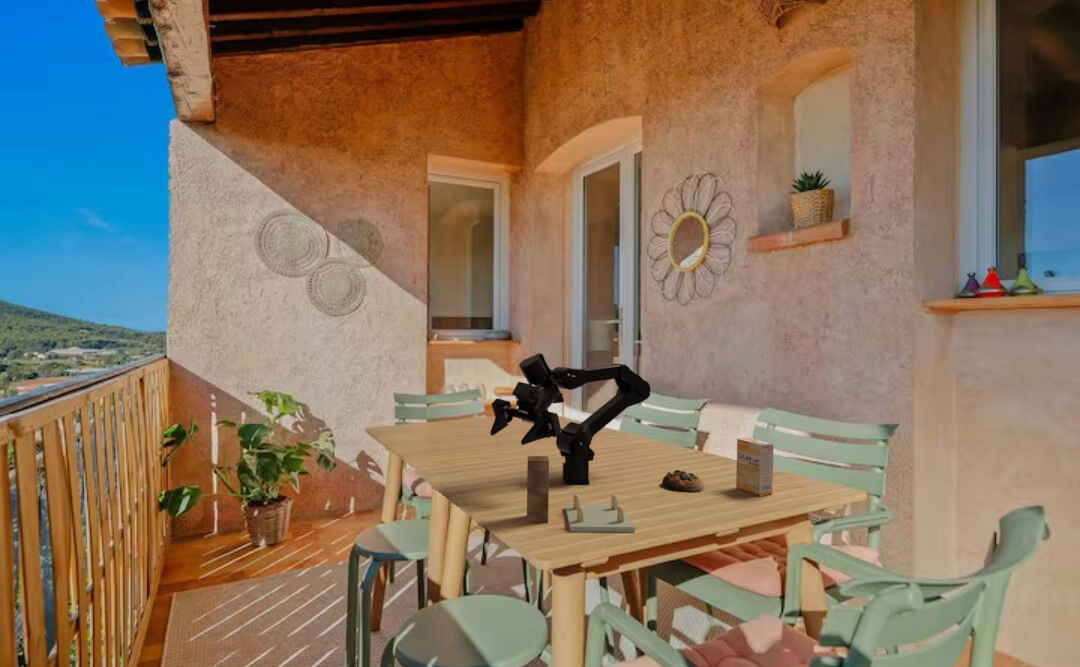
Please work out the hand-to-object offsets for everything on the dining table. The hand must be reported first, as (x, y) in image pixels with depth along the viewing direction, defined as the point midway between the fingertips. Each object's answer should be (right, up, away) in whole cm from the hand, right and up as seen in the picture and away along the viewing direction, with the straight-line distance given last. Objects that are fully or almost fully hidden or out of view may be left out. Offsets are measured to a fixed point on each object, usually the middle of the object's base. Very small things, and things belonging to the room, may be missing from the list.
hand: (506, 438), depth 134 cm
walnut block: (+7, -15, -14) cm, 21 cm away
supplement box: (+63, -16, +10) cm, 66 cm away
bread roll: (+46, -16, +14) cm, 51 cm away
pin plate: (+20, -15, -13) cm, 29 cm away
